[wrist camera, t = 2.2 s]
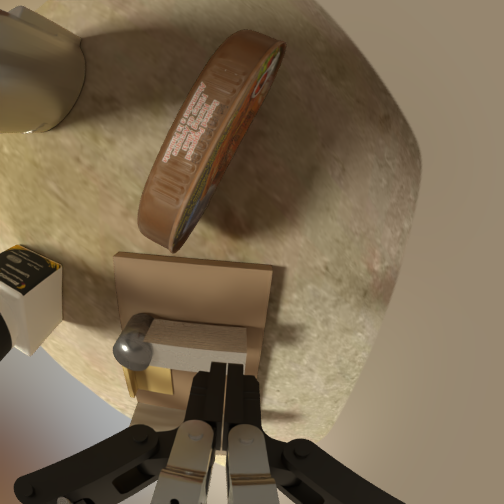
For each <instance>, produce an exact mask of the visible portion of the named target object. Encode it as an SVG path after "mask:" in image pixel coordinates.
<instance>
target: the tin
mask: <svg viewBox="0 0 504 504" xmlns="http://www.w3.org/2000/svg"><path fill="white" fill-rule="evenodd" d="M285 51H286V42H284V41H279V40H276V39H274V38H271V37H269V36H266V35H264V34H261V33H259V32H256V31H252V30H247V29H244V30H240V31H238V32H236V33H234V34H232V35H231V36H230V37H228V38H227V39H226V40H225V41H224V42H223V43H222V44H221V45H220V46H219V48H218V49H217V50H216V51H215V53H214V54H213V55H212V57H211V58H210V59H209V61H208V62H207V64H206V66H205V67H204V69H203V70H202V72H201V74H200V75H199V77H198V79H197V80H196V82H195V84H194V85H193V87H192V89H191V90H190V92H189V94H188V96H187V98H186V100H185V101H184V103H183V105H182V107H181V109H180V111H179V112H178V114H177V116H176V118H175V120H174V122H173V124H172V126H171V128H170V130H169V132H168V134H167V136H166V138H165V140H164V143H163V145H162V147H161V149H160V151H159V154H158V156H157V158H156V160H155V163H154V165H153V167H152V169H151V172H150V174H149V177H148V179H147V182H146V184H145V187H144V190H143V193H142V196H141V200H140V204H139V209H138V227H139V230H140V232H141V233H142V234H143V235H144V236H145V237H147V238H149V239H150V240H152V241H154V242H156V243H158V244H160V245H161V246H163V247H165V248H167V249H169V251H170V252H171V253H176V252H177V251H178V250H179V249H180V248H181V247H182V246H183V244H184V243H185V241H186V240H187V238H188V237H189V235H190V234H191V232H192V231H193V229H194V228H195V226H196V225H197V223H198V221H199V220H200V218H201V216H202V215H203V213H204V211H205V209H206V207H207V205H208V203H209V202H210V199H211V197H212V196H213V194H214V192H215V190H216V188H217V186H218V184H219V182H220V180H221V178H222V176H223V174H224V172H225V170H226V168H227V166H228V165H229V163H230V161H231V159H232V157H233V155H234V153H235V151H236V149H237V148H238V146H239V144H240V142H241V140H242V138H243V137H244V135H245V133H246V131H247V129H248V128H249V126H250V124H251V122H252V120H253V119H254V117H255V115H256V113H257V111H258V110H259V108H260V106H261V104H262V102H263V100H264V98H265V97H266V95H267V93H268V91H269V89H270V87H271V85H272V83H273V81H274V79H275V76H276V74H277V72H278V70H279V67H280V65H281V62H282V59H283V57H284V54H285Z"/></svg>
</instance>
